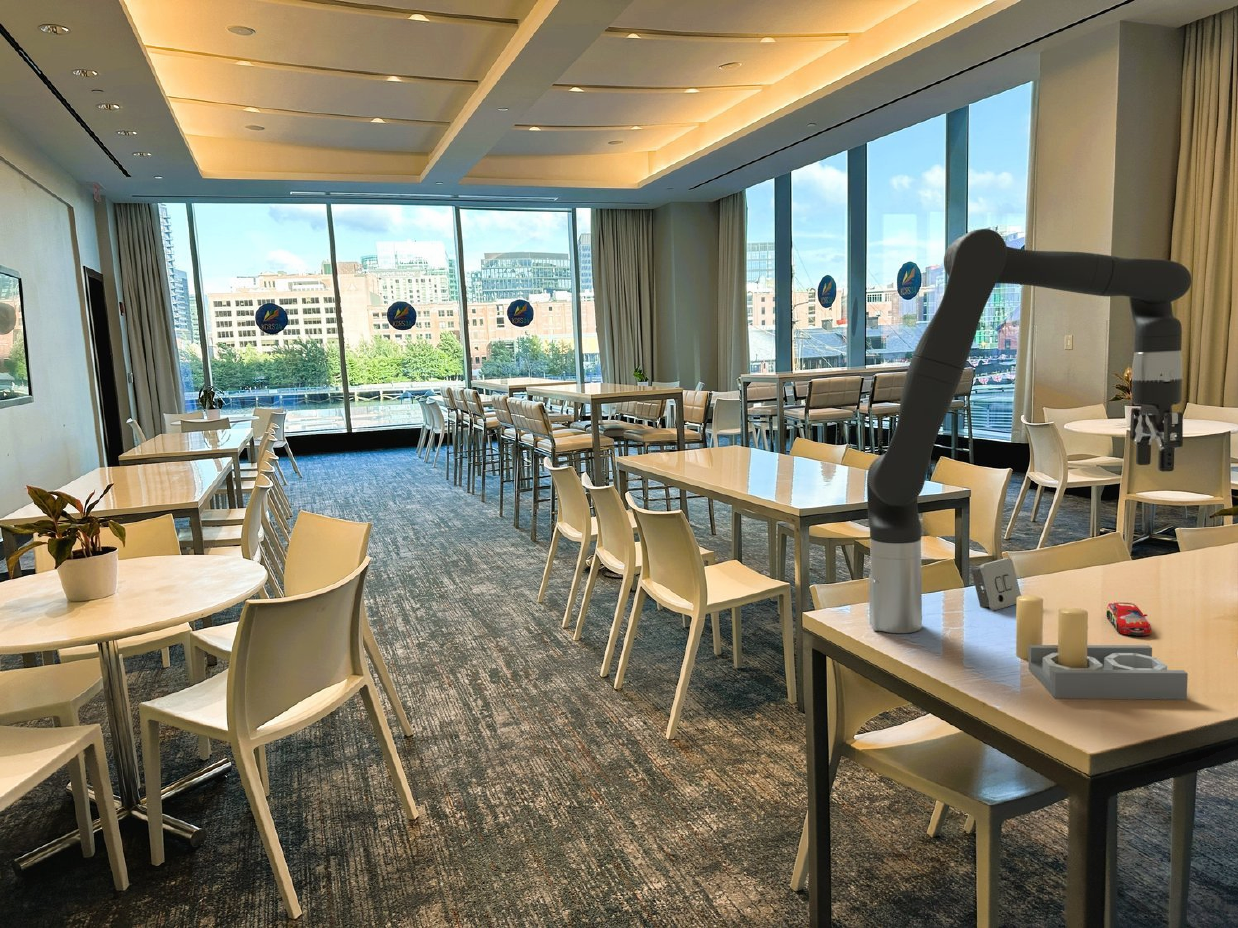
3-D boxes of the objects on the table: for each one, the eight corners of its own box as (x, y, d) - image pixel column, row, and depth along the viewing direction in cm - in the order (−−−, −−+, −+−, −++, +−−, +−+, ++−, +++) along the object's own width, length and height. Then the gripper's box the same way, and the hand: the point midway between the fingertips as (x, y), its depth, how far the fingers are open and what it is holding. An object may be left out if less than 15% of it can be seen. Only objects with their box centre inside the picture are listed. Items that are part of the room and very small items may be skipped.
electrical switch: (994, 611, 167) (990, 565, 166) (971, 608, 171) (967, 563, 171) (1023, 603, 171) (1019, 558, 171) (1000, 600, 176) (996, 556, 176)
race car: (1154, 640, 147) (1154, 618, 147) (1118, 638, 149) (1119, 616, 149) (1136, 617, 160) (1137, 597, 159) (1104, 615, 162) (1104, 595, 161)
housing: (1055, 698, 125) (1055, 623, 124) (1028, 668, 137) (1029, 600, 135) (1186, 699, 122) (1189, 623, 121) (1147, 669, 134) (1149, 599, 133)
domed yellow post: (1020, 660, 141) (1020, 602, 139) (1013, 651, 145) (1013, 595, 143) (1045, 660, 140) (1046, 602, 139) (1037, 651, 144) (1038, 595, 143)
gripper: (1116, 377, 156) (1114, 463, 158) (1152, 379, 142) (1150, 474, 144) (1160, 375, 155) (1157, 462, 157) (1201, 377, 141) (1198, 472, 143)
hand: (1154, 467), depth 151 cm, fingers open, 8 cm apart
